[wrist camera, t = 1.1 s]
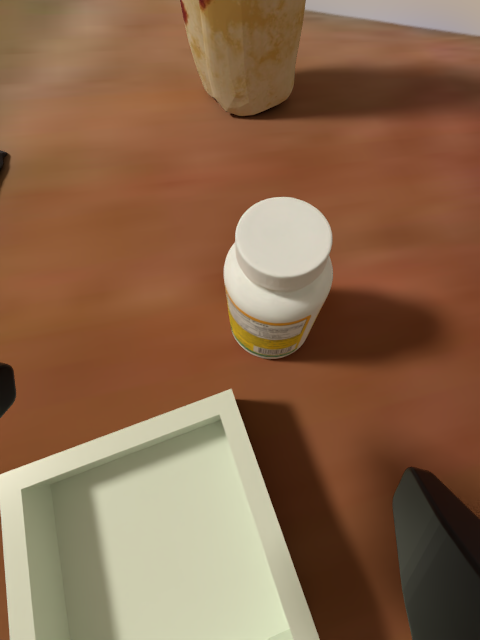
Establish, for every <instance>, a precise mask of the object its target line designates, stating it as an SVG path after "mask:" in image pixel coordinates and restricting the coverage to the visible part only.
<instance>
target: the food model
mask: <svg viewBox="0 0 480 640" xmlns="http://www.w3.org/2000/svg"><path fill="white" fill-rule="evenodd" d="M305 1H306V0H180V2H181V7H182V12H183V18H184V22H185V27H186V32H187V37H188V41H189V44H190V48H191V51H192V54H193V58H194V61H195V64H196V67H197V70H198V73H199V75H200V78H201V81H202V83H203V86H204V89H205V90H206V92H207V93H208V94H209V95H210V96H212V97H214V98H215V99H216V100H217V101H218V103H219V104H220V105H221V106H222V107H223V109H224V110H225V111H226V112H229V113H232V114H235V115H238V116H247V115H255V114H257V113H260V112H262V111H265V110H267V109H269V108H271V107H274V106H276V105H278V104H280V103H282V102H283V101H285V100H286V99H287V98H288V97H289V95H290V94H291V92H292V89H293V86H294V77H295V65H296V57H297V52H298V47H299V41H300V36H301V30H302V25H303V18H304V10H305Z"/></svg>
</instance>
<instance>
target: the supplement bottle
mask: <svg viewBox="0 0 480 640" xmlns="http://www.w3.org/2000/svg"><path fill="white" fill-rule="evenodd" d="M331 246H332V232H331V228H330V225H329V223H328V221H327V220H326V218H325V217H324V216H323V214H322V213H321V212H320V211H319V210H318V209H316V208H315V207H313V206H312V205H310V204H309V203H306V202H304V201H301V200H299V199H295V198H290V197H275V198H270V199H266V200H263V201H260V202H258V203H256V204H255V205H253V206H252V207H250V208H249V209H248V210H247V211H246V212H245V213H244V214H243V216H242V217H241V219H240V220H239V222H238V225H237V228H236V234H235V243H234V244H233V246H232V247H231V249H230V250H229V252H228V255H227V257H226V260H225V265H224V283H225V290H226V296H227V303H228V310H229V317H230V324H231V329H232V333H233V335H234V337H235V339H236V341H237V342H238V343H239V345H240V346H241V347H242V348H243V349H245V350H246V351H247V352H249V353H250V354H252V355H255V356H257V357H261V358H266V359H276V358H282V357H285V356H288V355H290V354H292V353H293V352H295V351H296V350H297V349H298V348H300V347H301V345H302V344H303V343H304V341H305V340H306V338H307V336H308V334H309V332H310V330H311V328H312V326H313V324H314V322H315V320H316V318H317V316H318V314H319V312H320V310H321V308H322V306H323V304H324V302H325V300H326V298H327V296H328V294H329V291H330V288H331V285H332V280H333V268H332V263H331V259H330V257H329V254H330V251H331Z"/></svg>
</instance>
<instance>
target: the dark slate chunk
mask: <svg viewBox="0 0 480 640" xmlns="http://www.w3.org/2000/svg"><path fill="white" fill-rule="evenodd" d="M6 155H7V153H6V152H4V151H1V150H0V168H1V167H2V166H3V157H4V156H6Z"/></svg>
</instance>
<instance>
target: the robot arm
mask: <svg viewBox="0 0 480 640" xmlns="http://www.w3.org/2000/svg"><path fill="white" fill-rule="evenodd" d="M15 398H16V388H15V379H14V371H13V368H12V367H11V366H10V365H8V364H5V363H1V362H0V418H1V417H2V415H3V414H4V413H5V412H6V411H7V410H8V409H9V408H10V407H11V405H12V404H13V402H14V401H15ZM393 515H394V524H395V533H396V541H397V550H398V559H399V568H400V577H401V584H402V591H403V596H404V601H405V607H406V611H407V616H408V621H409V626H410V630H411V635H412V640H480V519H479V518H478V517H477V516H476V515H475V514H474V513H473V512H472V511H471V510H470V509H469V508H468V507H466V506H465V505H464V504H463V503H462V502H461V501H460V500H459V499H458V498H457V497H456V496H455V495H454V494H453V493H452V492H451V491H450V490H449V489H448V488H447V487H446V486H445V485H444V484H443V483H442V482H441V481H440V480H439V479H438V478H437V477H436V476H435V475H434V474H432V473H431V472H429V471H427V470H423V469H419V468H415V467H409V468H407V469H406V470H405V472H404V474H403V476H402V478H401V480H400V483H399V485H398V487H397V489H396V491H395V494H394V497H393Z"/></svg>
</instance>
